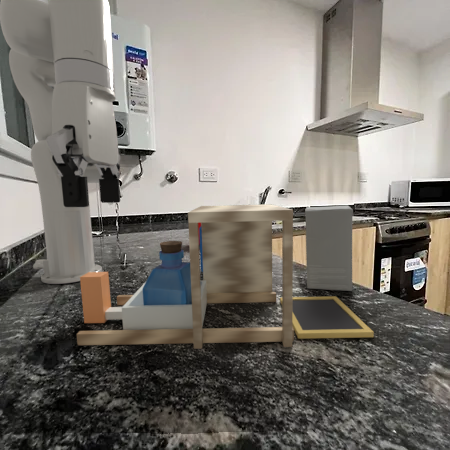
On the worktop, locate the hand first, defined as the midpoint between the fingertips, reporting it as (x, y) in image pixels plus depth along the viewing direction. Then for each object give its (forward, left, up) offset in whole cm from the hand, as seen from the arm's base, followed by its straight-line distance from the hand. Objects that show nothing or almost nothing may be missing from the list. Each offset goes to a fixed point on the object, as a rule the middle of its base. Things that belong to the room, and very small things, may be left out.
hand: (95, 204), depth 40 cm
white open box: (+7, -2, -17) cm, 19 cm away
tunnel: (+22, -2, -18) cm, 28 cm away
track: (+14, -2, -18) cm, 23 cm away
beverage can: (+17, +21, -18) cm, 32 cm away
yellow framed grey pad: (+34, -2, -18) cm, 38 cm away
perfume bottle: (+12, -3, -18) cm, 22 cm away
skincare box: (+40, +11, -18) cm, 45 cm away
